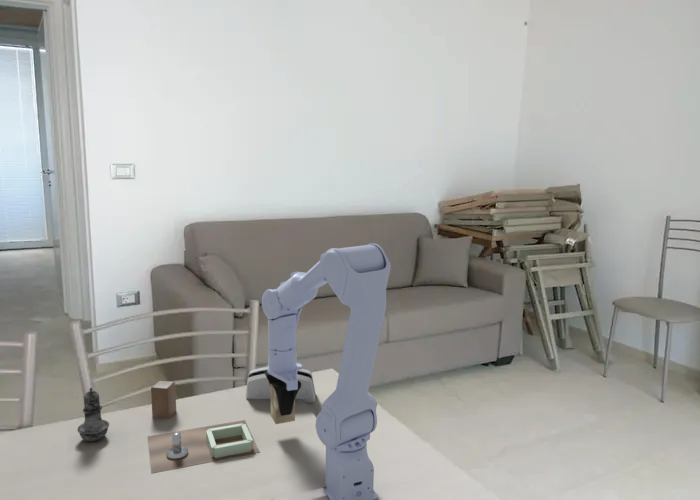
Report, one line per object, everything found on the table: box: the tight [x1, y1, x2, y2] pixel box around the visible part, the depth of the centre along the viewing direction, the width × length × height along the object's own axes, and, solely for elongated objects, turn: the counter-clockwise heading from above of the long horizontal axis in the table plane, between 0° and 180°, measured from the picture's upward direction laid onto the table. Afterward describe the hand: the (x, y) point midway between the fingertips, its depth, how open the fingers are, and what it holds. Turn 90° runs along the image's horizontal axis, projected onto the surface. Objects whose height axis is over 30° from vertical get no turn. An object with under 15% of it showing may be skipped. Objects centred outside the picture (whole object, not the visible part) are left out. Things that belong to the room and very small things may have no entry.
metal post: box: [166, 431, 188, 460], centre depth 107 cm, size 4×4×4 cm
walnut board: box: [147, 419, 261, 474], centre depth 112 cm, size 14×20×1 cm
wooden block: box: [150, 380, 177, 420], centre depth 123 cm, size 4×4×8 cm
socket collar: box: [206, 423, 254, 458], centre depth 111 cm, size 8×8×2 cm
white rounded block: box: [245, 366, 317, 403], centre depth 133 cm, size 17×5×10 cm, turn 92°
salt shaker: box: [76, 386, 110, 442], centre depth 112 cm, size 6×6×12 cm
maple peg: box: [270, 384, 296, 425], centre depth 114 cm, size 4×4×7 cm
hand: (282, 409), depth 115 cm, fingers closed on maple peg, 4 cm apart
